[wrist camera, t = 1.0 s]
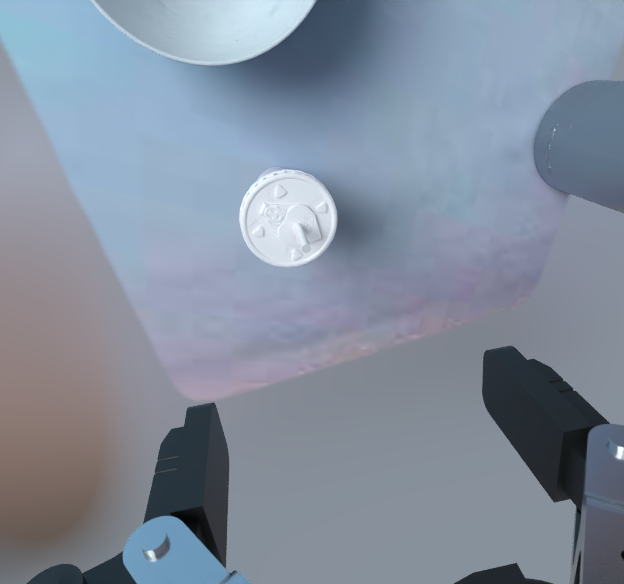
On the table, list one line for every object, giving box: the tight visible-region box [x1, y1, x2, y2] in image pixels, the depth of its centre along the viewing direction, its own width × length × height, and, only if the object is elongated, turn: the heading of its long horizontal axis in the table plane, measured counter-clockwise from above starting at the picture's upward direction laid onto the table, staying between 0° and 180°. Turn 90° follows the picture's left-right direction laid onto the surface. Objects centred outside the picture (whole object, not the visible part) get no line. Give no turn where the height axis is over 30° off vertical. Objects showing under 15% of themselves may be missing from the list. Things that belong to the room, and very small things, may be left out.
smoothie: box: [239, 167, 337, 267], centre depth 32 cm, size 6×6×14 cm
